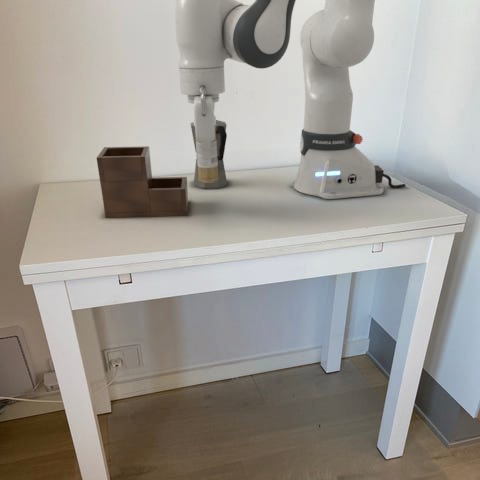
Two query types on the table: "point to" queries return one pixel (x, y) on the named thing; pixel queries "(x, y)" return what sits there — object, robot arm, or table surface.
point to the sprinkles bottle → (207, 161)
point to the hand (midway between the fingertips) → (206, 154)
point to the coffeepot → (221, 143)
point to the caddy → (138, 185)
